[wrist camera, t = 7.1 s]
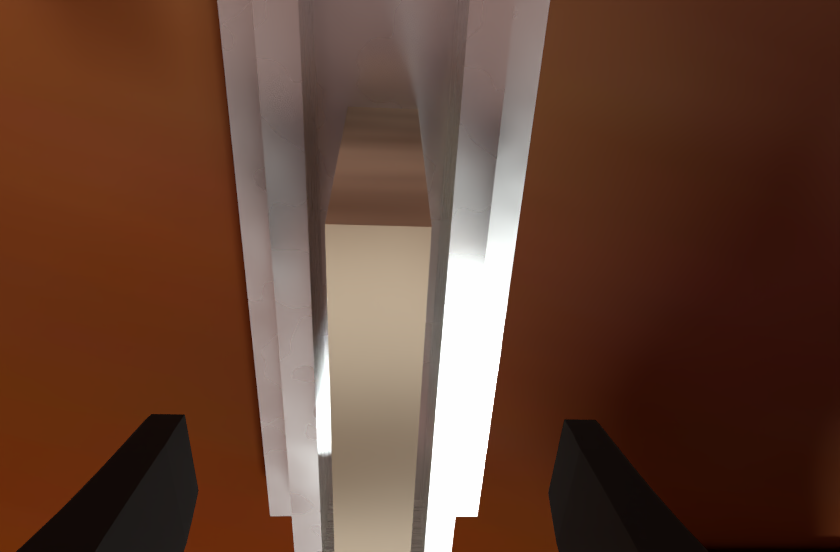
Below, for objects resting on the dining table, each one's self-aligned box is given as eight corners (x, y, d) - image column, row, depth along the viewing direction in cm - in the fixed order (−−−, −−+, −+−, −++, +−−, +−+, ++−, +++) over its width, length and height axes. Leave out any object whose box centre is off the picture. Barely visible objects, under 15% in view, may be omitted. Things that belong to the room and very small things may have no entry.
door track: (473, 492, 23) (485, 583, 20) (274, 492, 23) (257, 584, 20) (551, -86, 14) (595, -77, 11) (218, -103, 14) (168, -101, 10)
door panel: (402, 429, 20) (406, 617, 15) (350, 429, 20) (336, 618, 15) (417, 109, 15) (431, 227, 10) (347, 106, 15) (324, 224, 10)
